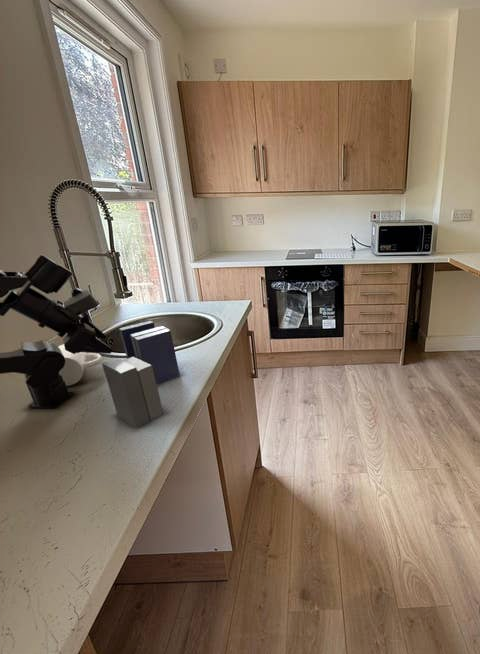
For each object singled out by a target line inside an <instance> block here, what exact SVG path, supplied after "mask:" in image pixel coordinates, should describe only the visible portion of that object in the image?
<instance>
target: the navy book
mask: <svg viewBox="0 0 480 654" xmlns="http://www.w3.org/2000/svg"><path fill="white" fill-rule="evenodd" d="M153 328H156V326H155V322H154V321H152V320H148V321H143V322H139V323H135V324H131V325H127V326H123V327H120V328H118V331H119V334H120V338H121V341H122V345H123V348H124V352H125V357H126V359H128V358H130V357H135V358H136V356H135V352H134V348H133V344H132V340H131V336H130V335H131V334H134V333H138V332H142V331H145V330H149V329H153Z"/></svg>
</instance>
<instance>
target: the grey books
mask: <svg viewBox="0 0 480 654" xmlns="http://www.w3.org/2000/svg"><path fill="white" fill-rule="evenodd" d="M101 365H102V369H103V371H104V375H105V378H106V382H107V385H108V389H109V392H110V395H111V398H112V402H113V405H114V408H115V412H116V414H117V417H119V418H121V419H122V420H123V421H125V422H127V423H128V424H129V425H131V426H132V427H134V428H135V429H138V428H140V427H141V426H144V425H145V424H148V423H149V422H151V421H152V420H153V419H155V418H157V417H159V416H161V415H163V414H164V410H163V406H162V401H161V398H160V393H159V389H158V384H156V380H155V376H154V372H153V368H152V365H150V364H148V363H146V362H144V361H142V360H139V359H137V358H135V357H130V358H128V359H127V358H125V359H120V358H118V357H115V358H112V359H109V360H106V361H104V362H101Z"/></svg>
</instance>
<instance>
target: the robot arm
mask: <svg viewBox="0 0 480 654" xmlns="http://www.w3.org/2000/svg"><path fill="white" fill-rule="evenodd" d="M73 275H74V272H72V271H71V270H70V269H68V268H67V267H65V266H64V265H62V264H61V263H59V262H57V261H54V260H52V259H50V258H49V257H48V256H45V255H44V254H42V253H40V254H39V255H38V256H37V257H36V258H35V260H34V262H33V263H32V264H31V265H30V266H29V267H28V268H27V269H26V270H25V272H24V271H6V270H5V271H4V270H2V269H0V299H1V298H3V299H2V300H0V316H1V317H4V316H6V314H7V313H8V312H9V311H10V310H11V311H14V312H15V313H18V314H19V315H22V316H24V317H26V318H28V319H29V320H32V321H34V322H36V323H37V326H38V327H40V328H42V329H44V328H47V329H49V330H51V331H53V332H56V333H57V336H58V337H60V338H62V341H63V344H64V346H65V350H66V351H68V352H71V353H73V354H75V353H79V352H86V353H97V354H111V353H112V352H113V351H114V350H113V348H111V347H110V346H109V345H107V344H106V343H105V342H104V341H103V340H105V339H106V338H107V335H106V334H105V333H104V332H103V331H102V330H101V329H99V327H97V326H96V325H95V324H94V323H93V322H92V321H91V320H90V318H89V313H88V312H89V311H90V310H94V309H96V308H97V307H98V306H99V303H98V301H97V299H96V298H95V296H94V295H93V294H92V293H91V292H90V291H89V290H88V289H84V290H83V289H81V288H79V287H75V288H73V289H71V290H70V293H71V297H68V299H67V300H65V301H63V300H61V299H52V298H50V297H48V296H46V295H45V294H47V295H49V294H53V293H55V294H57V293H58V292H59V291H60V290H61V289H62V288H63V287H64V285H66V283H67V282H68V281H69V280H70V279H71V278H72V276H73ZM32 287H34V288H36V289H37V290H39V291H41V292H42V293H45V294H42V293H41V292H39V291H37V290H35V289H34V288H32ZM17 289H19V290H17ZM20 346H21V347H20V348H18V349H14V350H13V351H8V352H0V375H3V374H10V373H11V374H13V373H14V374H15V373H16V374H21V375H24V378H25V384H26V386H27V389H28V391H29V394H30V396H31V399H32V402H31V403H30V404H28V405H27V407H28V409H55V408H57V407H58V406H59V405H61V404H62V403H63V402H65V401H66V400H68V399H69V398H71V397H72V396H74V394H75V392H74V391H69V390H68V386H66V384H65V381H63V379H62V376H61V375H59V371H60V370H61V369H62V368H63V367H64V365H65V358H64V356H63V354H62V352H61V350H60V349H59V347H58V346H59V345H56V344H54V343H53V342H45V340H44V339H42V340H39V341H21V342H20Z"/></svg>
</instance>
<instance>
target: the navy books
mask: <svg viewBox="0 0 480 654" xmlns="http://www.w3.org/2000/svg"><path fill="white" fill-rule="evenodd" d="M130 336H131V340H132V344H133V348H134V352H135V356H136V358H137V359H139V360H142V361H144V362H146V363H148V364H150V365H152V368H153V372H154V376H155V380H156V384H157V385H159V384H162V383H165V382H167V381H170V380H173V379H175V378H178V377H180V376H181V373H180V368H179V363H178V359H177V355H176V350H175V345H174V340H173V335H172V331H171V329H169V328H167V327H165V326H163V325H160V326H157V327H155V328H153V329H149V330H145V331H142V332H138V333H134V334H131V335H130Z"/></svg>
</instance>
